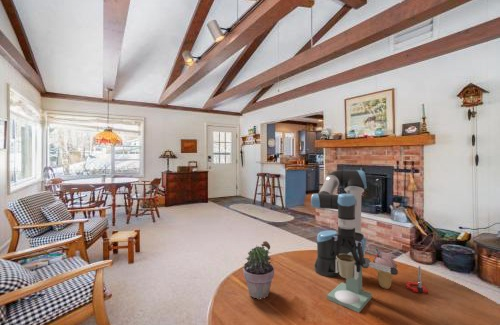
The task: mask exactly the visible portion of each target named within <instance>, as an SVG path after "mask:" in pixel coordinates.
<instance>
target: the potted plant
mask: <svg viewBox="0 0 500 325" xmlns="http://www.w3.org/2000/svg"><path fill="white" fill-rule="evenodd" d="M265 248H266V249H265ZM270 249H271V245H270V243H269V242H268V241H263V242H262V243H261V244H260V246H258V245H257V244H256V246H255V247H254V248H250V250H249V251H248V252H247V254H248V257H246V258H245V259H246V260H247V261H246V262H245V263H244V264H243V267H242V268H240V270H241V269H242V272H243V278H244V279H245V282H246V285H247V291H248V294H250V295H251V296H252V297H254V298H258V300H261V299H260V298H264V297H266V296H267V297H268V296H269V295H268V294H270V290H271V285H272V281H273V279H274V277H275V276H274V275H275V267H274V266H275V265H274V262H273V261H271V260H272V259H271V258H272V257H273V256H269V254H271V252H270V251H269V250H270ZM269 260H270V261H269ZM250 295H249V296H250ZM252 297H251V298H252ZM254 298H253V299H254ZM264 299H265V298H264Z"/></svg>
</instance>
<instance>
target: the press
mask: <svg viewBox="0 0 500 325" xmlns="http://www.w3.org/2000/svg"><path fill="white" fill-rule="evenodd" d="M348 254H349V255H352V253H351V252H349V253H348ZM357 255H358V254H357ZM358 257H359V255H358ZM358 276H359V277H358V278H357V279H355V273H354V277H353V278H348V279H347V278H345V283H344V282H340V283H339V284H338V285H337V286H336V287H334V288H333V289H332V290H331V291H330V292H329V293H327V295H326V299H327V300H328V301H331V302H333V303H335V304H337V305H340V306H342V307H344V308H347V309H349V310H352V311H354V312H356V313H358V314H360V313H361V311H362V310H363V309H364V308H365V306H367V304H368V303H369V301H370V300H372V298H373V293H371V292H369V291H367V290H364V289H363V267H362V266H361V270H360V272H358Z"/></svg>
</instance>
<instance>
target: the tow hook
mask: <svg viewBox="0 0 500 325" xmlns="http://www.w3.org/2000/svg"><path fill="white" fill-rule="evenodd" d="M417 276H418V277H417V278H418V279H417V282H412V281H411V282H406V283H405V287H406V288H407V289H409V290H411V291H412V293H420V294H423V293H425V294H428V293H429V291H428V289H426V287H425V286H424V285H422V283H423V282H422V270H421V266H419V265H418V270H417ZM412 286H415V287H412Z"/></svg>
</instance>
